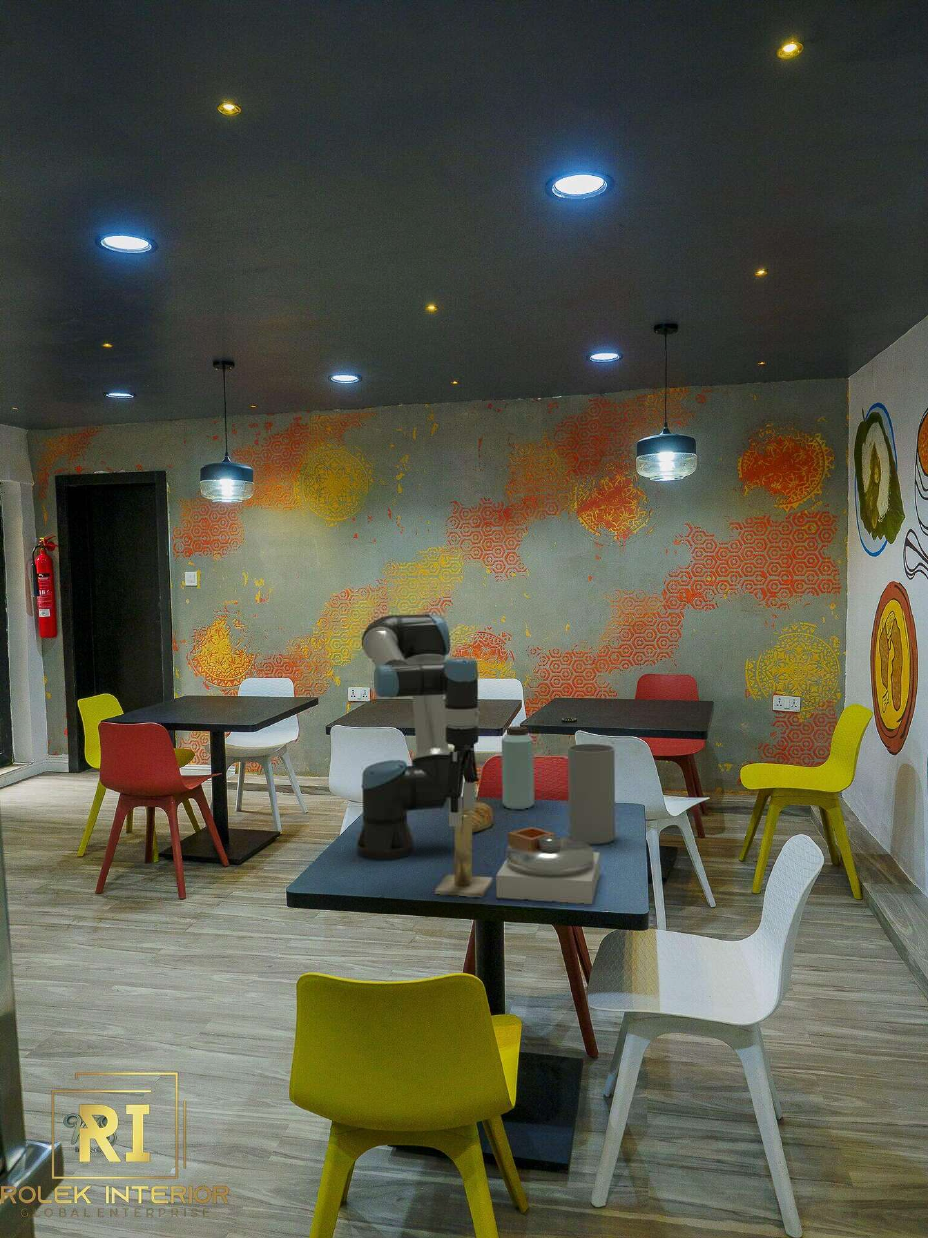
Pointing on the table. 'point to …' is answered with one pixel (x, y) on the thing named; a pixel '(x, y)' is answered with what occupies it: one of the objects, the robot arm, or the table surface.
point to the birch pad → (474, 890)
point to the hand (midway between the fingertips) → (462, 817)
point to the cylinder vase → (591, 793)
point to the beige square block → (549, 885)
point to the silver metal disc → (547, 853)
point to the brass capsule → (463, 852)
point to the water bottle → (517, 768)
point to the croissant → (480, 816)
